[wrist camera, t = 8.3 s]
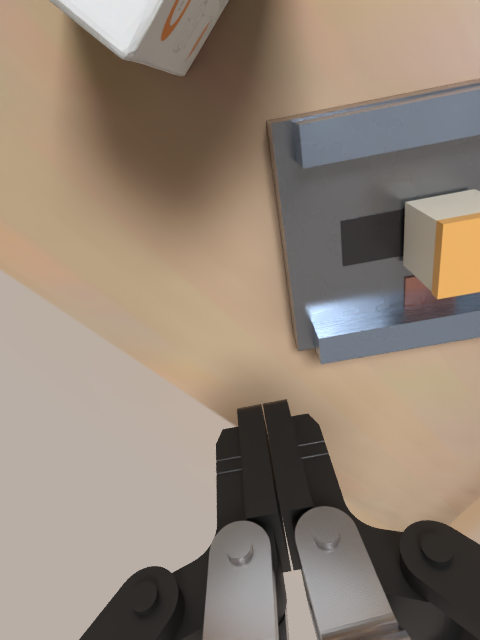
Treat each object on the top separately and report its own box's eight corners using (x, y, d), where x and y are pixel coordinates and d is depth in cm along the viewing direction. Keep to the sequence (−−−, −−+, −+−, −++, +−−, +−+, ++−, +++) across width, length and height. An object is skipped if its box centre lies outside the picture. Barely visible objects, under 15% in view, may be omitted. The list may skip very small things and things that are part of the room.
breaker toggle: (404, 201, 20) (443, 224, 17) (475, 187, 20) (530, 208, 17) (402, 266, 22) (437, 299, 19) (467, 254, 22) (515, 285, 19)
